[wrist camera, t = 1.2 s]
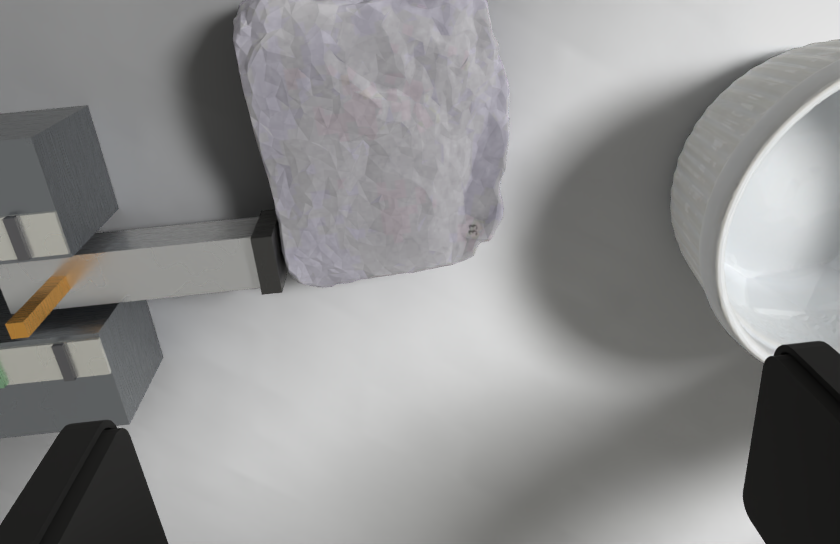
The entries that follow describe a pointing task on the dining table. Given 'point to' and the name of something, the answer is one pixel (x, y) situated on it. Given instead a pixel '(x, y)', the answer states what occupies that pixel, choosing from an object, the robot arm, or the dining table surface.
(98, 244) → the bar with dark endcap
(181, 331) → the dining table surface
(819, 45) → the ramekin
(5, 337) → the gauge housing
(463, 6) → the stone block
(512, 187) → the dining table surface
